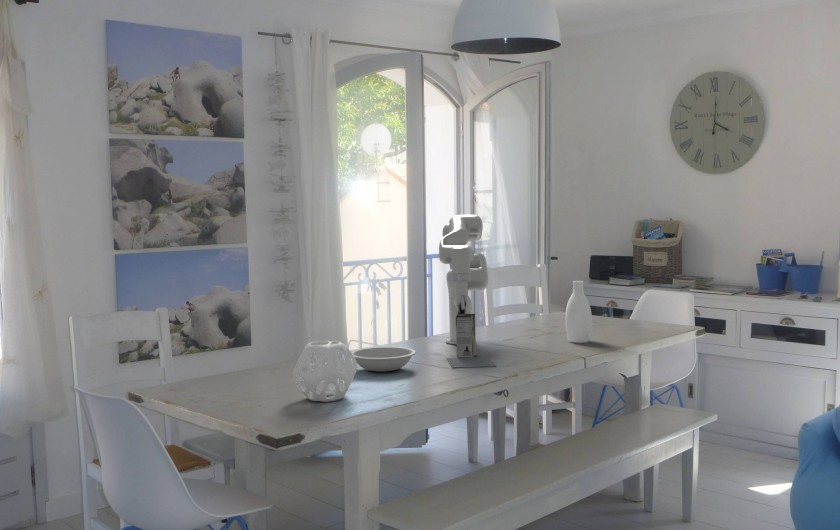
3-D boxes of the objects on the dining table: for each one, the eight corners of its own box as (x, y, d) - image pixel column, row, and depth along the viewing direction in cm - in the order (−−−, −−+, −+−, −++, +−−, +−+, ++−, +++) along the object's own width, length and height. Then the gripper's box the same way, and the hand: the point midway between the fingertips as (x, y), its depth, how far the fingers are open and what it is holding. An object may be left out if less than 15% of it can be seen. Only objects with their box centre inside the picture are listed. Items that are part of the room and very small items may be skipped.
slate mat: (446, 359, 326) (446, 358, 326) (488, 357, 327) (488, 356, 327) (452, 368, 308) (452, 367, 308) (496, 366, 309) (496, 365, 309)
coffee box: (460, 354, 336) (459, 313, 335) (476, 354, 334) (475, 313, 334) (456, 357, 327) (455, 315, 326) (472, 357, 325) (472, 315, 325)
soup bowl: (341, 367, 314) (341, 349, 314) (402, 362, 323) (402, 344, 322) (360, 379, 292) (360, 360, 291) (426, 373, 300) (425, 355, 300)
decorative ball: (288, 407, 255) (287, 349, 254) (298, 392, 275) (296, 338, 274) (355, 405, 255) (354, 347, 254) (360, 390, 275) (358, 337, 274)
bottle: (590, 344, 353) (589, 282, 351) (563, 343, 357) (562, 282, 355) (593, 339, 364) (593, 280, 362) (567, 338, 367) (566, 279, 365)
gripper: (449, 276, 348) (450, 321, 349) (453, 279, 333) (454, 326, 335) (467, 276, 349) (468, 320, 350) (472, 279, 334) (473, 325, 335)
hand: (461, 323), depth 342 cm, fingers closed
